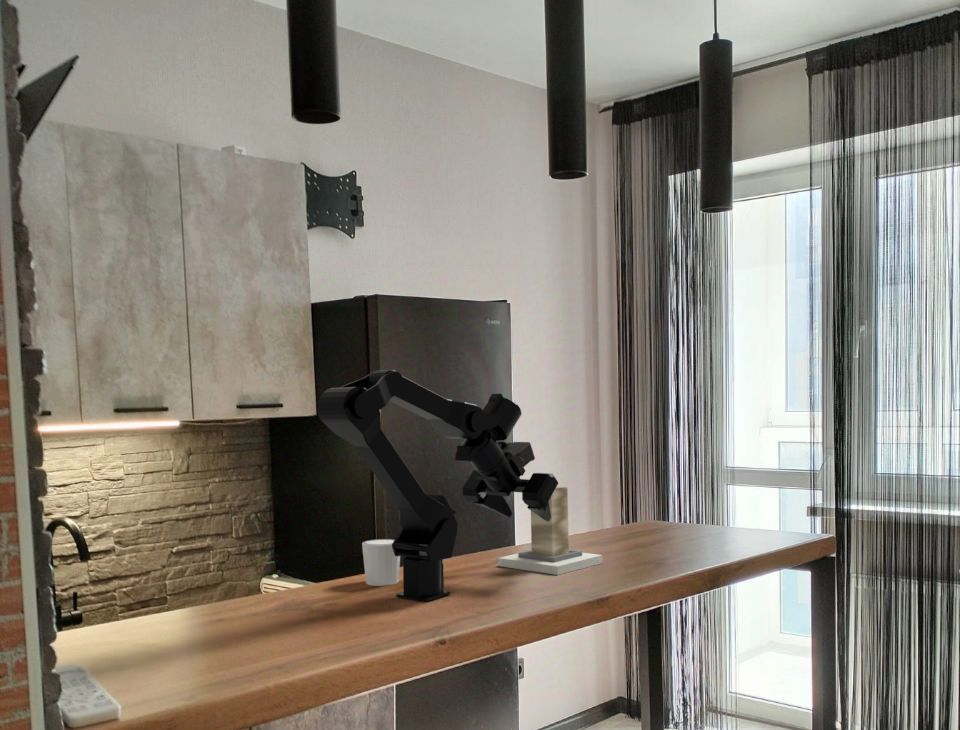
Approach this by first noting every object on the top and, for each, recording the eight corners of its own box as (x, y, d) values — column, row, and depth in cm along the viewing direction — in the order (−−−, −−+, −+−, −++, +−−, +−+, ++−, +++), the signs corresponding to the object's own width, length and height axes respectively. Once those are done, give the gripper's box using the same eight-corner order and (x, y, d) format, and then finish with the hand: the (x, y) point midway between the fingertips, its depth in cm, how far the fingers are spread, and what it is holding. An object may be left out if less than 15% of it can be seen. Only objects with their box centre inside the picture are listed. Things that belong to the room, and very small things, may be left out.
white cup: (405, 578, 149) (405, 538, 150) (397, 586, 143) (397, 544, 143) (367, 578, 150) (367, 538, 151) (357, 586, 143) (357, 544, 144)
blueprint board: (557, 574, 150) (557, 561, 150) (498, 566, 159) (498, 553, 159) (602, 563, 160) (602, 550, 160) (544, 555, 170) (543, 543, 170)
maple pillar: (552, 559, 156) (551, 489, 157) (531, 557, 160) (530, 487, 160) (568, 555, 160) (567, 486, 161) (547, 553, 163) (546, 485, 164)
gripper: (550, 427, 146) (588, 486, 154) (471, 426, 159) (510, 482, 167) (522, 475, 140) (563, 535, 148) (442, 471, 153) (484, 526, 160)
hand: (529, 517), depth 156 cm, fingers open, 9 cm apart
